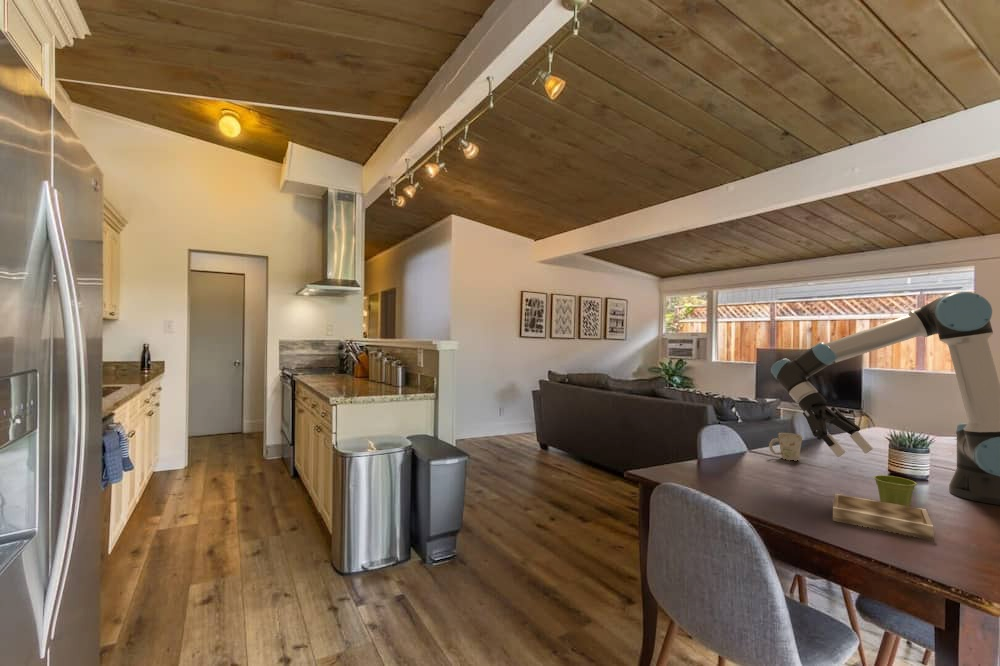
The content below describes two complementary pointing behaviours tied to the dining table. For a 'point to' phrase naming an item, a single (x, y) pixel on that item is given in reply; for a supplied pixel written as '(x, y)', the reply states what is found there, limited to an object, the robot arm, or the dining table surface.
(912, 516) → the tray
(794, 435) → the mug
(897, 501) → the plant pot
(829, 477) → the dining table surface
